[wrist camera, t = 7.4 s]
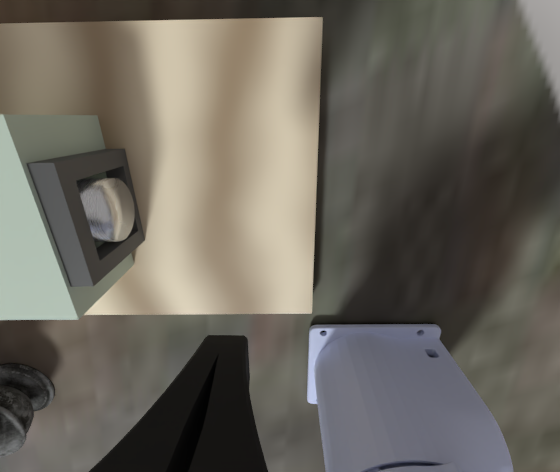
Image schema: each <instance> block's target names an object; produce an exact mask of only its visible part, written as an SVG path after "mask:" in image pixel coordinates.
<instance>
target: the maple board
mask: <svg viewBox="0 0 560 472" xmlns="http://www.w3.org/2000/svg"><path fill="white" fill-rule="evenodd" d="M322 27H323V17H298V18H249V19H199V20H150V21H101V22H51V23H2V24H0V114H9V115H97V116H98V120H99V124H100V128H101V132H102V136H103V140H104V144H105V148H106V149H125V152H126V156H127V161H128V165H129V170H130V174H131V179H132V183H133V188H134V192H135V197H136V201H137V206H138V210H139V215H140V219H141V224H142V228H143V233H144V237H145V241H144V242H143V243H142V244H141V245H139V246H138V247H137V248H136V249H135V250H134V251H133V252H132V257H133V261H134V265H133V266H132V267H131V268H130V269H129V270H128V271H127V272H126V273H125V274H124V275H123V276H122V277H121V278H120V279H119V280H118V281H117V282H116V283H115V284H114V285H113V286H112V287H111V288H110V289H109V290H108V291H107V292H106V293H105V294H104V295H103V296H102V297H101V298H100V299H99V300H98V301H97V302H96V303H95V304H94V305H93V306H92V307H91V308H90V309H89V310H88V311H87V312H86V313H85V314H84V315H144V314H312V296H313V269H314V242H315V215H316V188H317V161H318V134H319V108H320V81H321V54H322Z"/></svg>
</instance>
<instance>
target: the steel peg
mask: <svg viewBox="0 0 560 472" xmlns="http://www.w3.org/2000/svg"><path fill="white" fill-rule="evenodd" d="M76 183H77V187H78V190H79V193H80V197H81V200H82V203H83V207H84V210H85V213H86V217H87V220H88V223H89V227H90V230H91V233H92V237H93V240H94V242H108V241H122V240H124V239H126V238H127V237H128V235H129V234H130V232H131V230H132V227H133V224H134V217H135V209H134V202H133V198H132V195H131V193H130V191H129V189H128V187H127V186H126V185H125V183H124V182H122V181H121V180H119V179H116V178H89V179H79V180H76Z"/></svg>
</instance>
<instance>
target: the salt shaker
mask: <svg viewBox="0 0 560 472" xmlns="http://www.w3.org/2000/svg"><path fill="white" fill-rule="evenodd" d="M53 398H54V387H53V385H52V383H51V382H50V380H49V379H48V378H47V377H46V376H45V375H44V374H42V373H41V372H39V371H37V370H36V369H34V368H31V367H28V366H25V365H19V364H4V365H0V457H2V456H7V455H10V454H12V453H14V452H16V451H18V450H19V449H20V448H21V447H22V446H23V445H24V442H25V440H26V433H27V432H28V430H29V428H30V426H31V423H32V420H33V417H34V411H37V410H41V409H43V408H45V407H47V406H48V405H49V404H50V403H51V402H52V400H53Z"/></svg>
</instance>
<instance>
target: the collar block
mask: <svg viewBox="0 0 560 472" xmlns="http://www.w3.org/2000/svg"><path fill="white" fill-rule="evenodd" d="M89 178H116V179H119V180H121V181H122V182H124V183H125V185H126V186H127V187H128V189H129V191H130V193H131V195H132V198H133V202H134V209H135V217H134V224H133V227H132V230H131V232H130V234H129V235H128V237H127V238H126V239H124V240H122V241H108V242H94V240H93V237H92V233H91V230H90V227H89V223H88V220H87V217H86V213H85V210H84V207H83V203H82V200H81V197H80V193H79V190H78V187H77V183H76V180H79V179H89ZM144 241H145V237H144V233H143V228H142V224H141V219H140V215H139V210H138V206H137V201H136V197H135V192H134V188H133V183H132V179H131V174H130V170H129V165H128V161H127V156H126V152H125V149H106V148H105V144H104V140H103V136H102V132H101V128H100V124H99V120H98V116H97V115H9V114H0V320H79V319H80V318H81V317H82V316H83V315H84V314H85V313H86V312H87V311H88V310H89V309H90V308H91V307H92V306H93V305H94V304H95V303H96V302H97V301H98V300H99V299H100V298H101V297H102V296H103V295H104V294H105V293H106V292H107V291H108V290H109V289H110V288H111V287H112V286H113V285H114V284H115V283H116V282H117V281H118V280H119V279H120V278H121V277H122V276H123V275H124V274H125V273H126V272H127V271H128V270H129V269H130V268H131V267H132V266H133V265H134V261H133V257H132V252H133V251H134V250H135V249H136V248H137V247H138V246H139V245H141V244H142V243H143V242H144Z"/></svg>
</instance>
